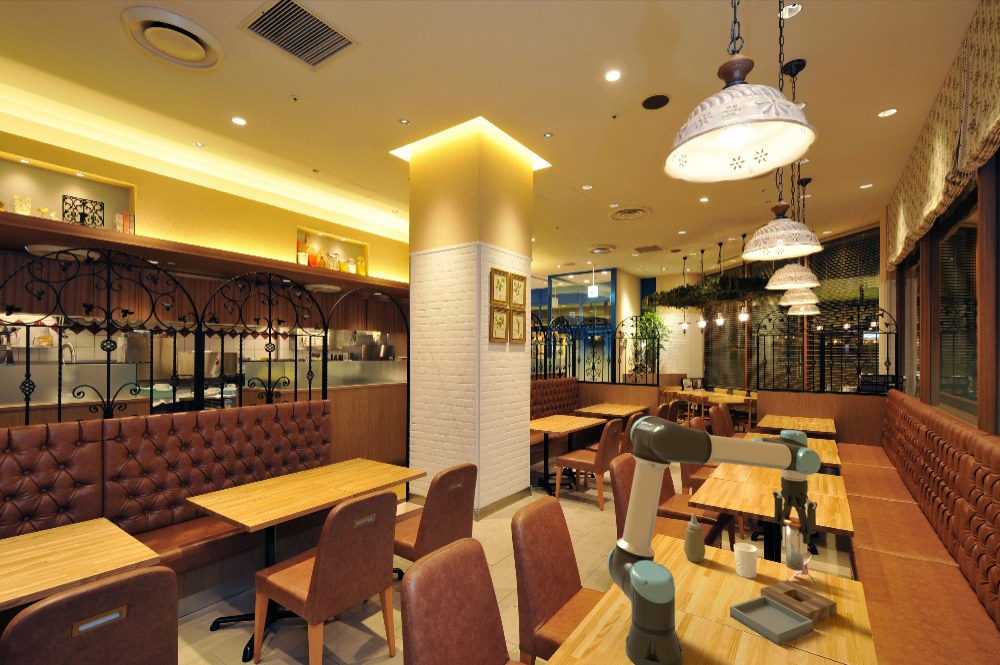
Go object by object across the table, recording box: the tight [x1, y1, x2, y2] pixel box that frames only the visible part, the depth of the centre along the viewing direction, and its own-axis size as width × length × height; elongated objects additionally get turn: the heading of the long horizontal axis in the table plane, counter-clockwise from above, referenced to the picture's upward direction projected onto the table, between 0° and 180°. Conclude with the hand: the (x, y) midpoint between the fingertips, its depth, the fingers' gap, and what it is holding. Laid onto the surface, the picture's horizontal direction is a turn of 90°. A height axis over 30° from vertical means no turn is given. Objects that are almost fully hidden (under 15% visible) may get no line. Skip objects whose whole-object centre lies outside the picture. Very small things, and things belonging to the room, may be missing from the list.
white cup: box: [733, 542, 758, 579], centre depth 177 cm, size 8×8×10 cm
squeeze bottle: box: [683, 513, 706, 563], centre depth 189 cm, size 8×8×18 cm
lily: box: [788, 555, 817, 586], centre depth 171 cm, size 12×12×10 cm
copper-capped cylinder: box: [783, 516, 805, 572], centre depth 154 cm, size 6×6×15 cm
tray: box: [729, 595, 814, 646], centre depth 146 cm, size 16×16×3 cm
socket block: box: [760, 579, 838, 626], centre depth 154 cm, size 14×16×4 cm
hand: (794, 549), depth 154 cm, fingers closed on copper-capped cylinder, 5 cm apart
